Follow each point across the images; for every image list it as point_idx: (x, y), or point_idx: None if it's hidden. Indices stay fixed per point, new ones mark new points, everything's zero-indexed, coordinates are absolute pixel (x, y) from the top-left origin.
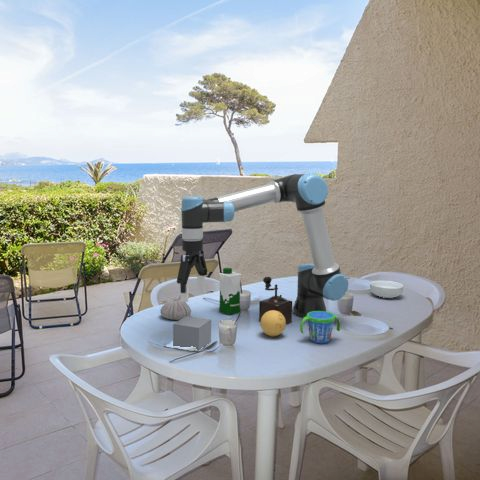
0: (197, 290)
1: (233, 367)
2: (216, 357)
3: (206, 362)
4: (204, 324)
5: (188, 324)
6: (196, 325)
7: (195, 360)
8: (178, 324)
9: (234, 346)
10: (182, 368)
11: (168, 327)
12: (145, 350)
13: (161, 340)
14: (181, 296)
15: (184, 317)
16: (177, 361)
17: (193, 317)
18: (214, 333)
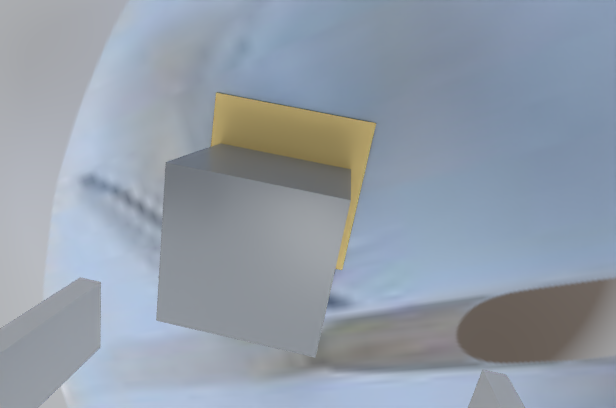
0: (489, 385)
1: (125, 385)
2: (182, 328)
3: (130, 303)
4: (226, 334)
5: (189, 255)
6: (187, 301)
7: (132, 264)
8: (169, 198)
9: (302, 374)
10: (54, 237)
11: (523, 3)
12: (153, 21)
13: (298, 48)
14: (36, 316)
15: (316, 195)
16: (99, 204)
17: (330, 252)
18: (446, 280)
